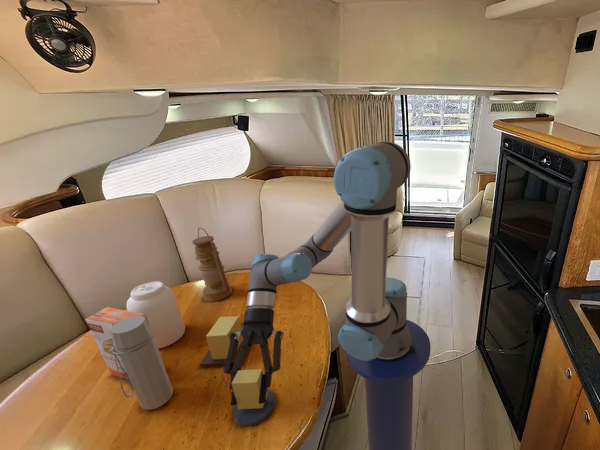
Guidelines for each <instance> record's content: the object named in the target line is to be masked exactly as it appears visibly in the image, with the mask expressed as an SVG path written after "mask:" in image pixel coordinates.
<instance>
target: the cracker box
mask: <svg viewBox="0 0 600 450" xmlns="http://www.w3.org/2000/svg"><path fill="white" fill-rule="evenodd" d="M133 316H143V317H144V318H145V320H146V322H147V324H148V325H149V322H148V320H147V317H146V315H145V314H140V313H135V312H130V311H128V310H125V309H121V308H120V309H119V308H114V307H110V306H107V307H104V308H102V309H100V310H99V311H98V312H96V313H93V314H92V315H90V316H88V317H87V318H85V322H86V324H87V326H88V328H89V331H90V333H91V335H92V337H93V339H94V342H95V343H96V345H97V347H98V350H99V352H100V354H101V356H102V358H103V360H104V362H105V365H106V367H107V369H108V371H109V373H110V375H111V376H112V377H117V378H119V374H120V378H121V379H124V380H127V379H126V377H125V375H124V373H123V371H122V369H121V367H120V365H119V363H118V360H119V362H120V364H121V366H122V368H123V370H124V372H125V374H126V376H127V378H128V380H129V381H130V379H129V377H128V375H127V372H126V370H125V368H124V365H123V363H122V361H121V358H120V356H119V354H117V355H116V356H117V358H118V360H117V358H116V361H117V365H118V370H119V374H118V370H117V365H116V361H115V357H116V356H114V355H113V353H112V352H111V351H110V348H112V347H113V346H114V343H113V340H112V336H111V332H110V329H111V328H112V326H113V325H114V324H116V323H117V322H119V321H121V320H123V319H126V318H128V317H133ZM149 327H150V325H149ZM150 329H151V328H150ZM154 339H155V338H154ZM155 342H156V341H155ZM114 349H115V351H116V353H118V351H117V349H116V347H114ZM158 350H159V353H160V354H161V352H160V348H159V349H158ZM161 358H162V356H161ZM162 361H163V364H164V366H165V363H164V360H163V358H162ZM165 369H166V370H167V368H166V366H165Z"/></svg>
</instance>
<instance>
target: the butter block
mask: <svg viewBox="0 0 600 450" xmlns="http://www.w3.org/2000/svg"><path fill="white" fill-rule="evenodd" d="M240 322H241V319H240V315H236V316H235V315H232V316H220V317H218V319H217V320H216V322H215V323H214V324H213V325H212V327H211V328H210V330H209V331H208V332H207V334H206V335H205V338H206V342H207V345H208V349H209V350H210V353H211V356H212V360H215V359H227V354H228V350H229V345H230V337H229V335H230V333H236V332H239V331H241V329H242V327H241V323H240ZM242 341H243V337H242V335H241V337H240V340H239V343H238V348H239V346H240V344H241V343H242ZM238 348H237V350H238Z"/></svg>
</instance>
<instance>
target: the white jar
mask: <svg viewBox="0 0 600 450" xmlns="http://www.w3.org/2000/svg"><path fill="white" fill-rule="evenodd" d="M177 300H178V299H177V297H176V294H175V291H173V289H172V288H171V287H169V286H166V285H165V284H164V283H163V282H162V281H157V280H156V281H148V282H145V283H141V284H140V285H137V286H135V287H134V288H133V289H131V291H130V297H129V298H128V299H127V301H126V311H130V312H135V313H140V314H145V315H146V317H147V320H148V322H149V325H150V328H151V330H152V333H153V336H154V338H155V341H156V344H157V347H158V349H159V350H160V349H162V348H166V347H168V346H170V345H172V344H175V342H177V341H178V340H179V339H181V338H182V337H183V335H184V334H185V333H186V326H185V323H184V320H183V316H182V313H181V309H180V306H179V304H178V301H177Z"/></svg>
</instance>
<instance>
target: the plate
mask: <svg viewBox="0 0 600 450" xmlns="http://www.w3.org/2000/svg"><path fill="white" fill-rule="evenodd" d="M267 394H268V395H267V397H266V401H265V403H264V406H263V408H254V409H238V406H237V404H236V405H234V407H233V410H232V416H233V417H232V418H233V420H234V422H235V423H236V424H237V425H238V426H242V427H251V426H254V425H255V426H256V425H257V424H260V423H261V422H263V421H265V420H266V419H267V418H268V417H269V416H270V415H271V413H272V412H273V410H274V408H275V406H276V398H275V395H274V393H273V391H271V390H269V389H267Z"/></svg>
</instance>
